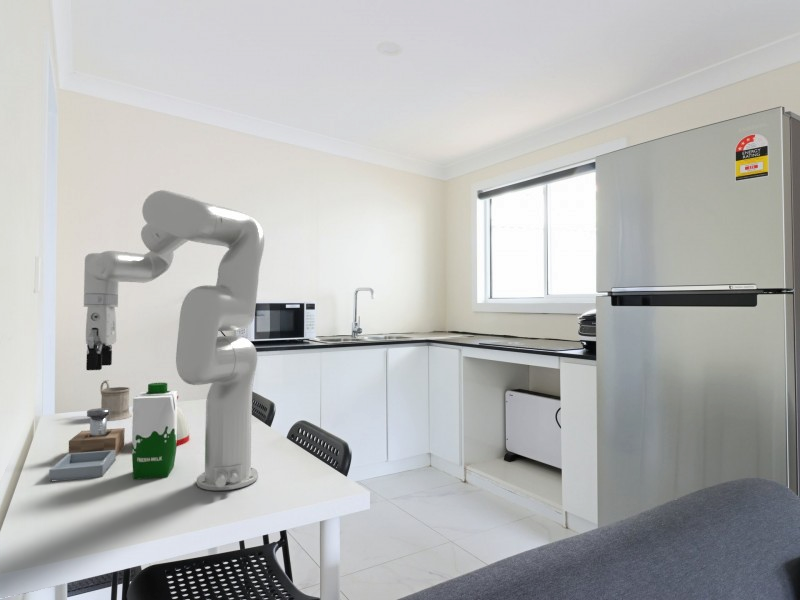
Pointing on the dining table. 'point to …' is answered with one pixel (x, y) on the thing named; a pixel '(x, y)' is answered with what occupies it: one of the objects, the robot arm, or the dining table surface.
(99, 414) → the pin
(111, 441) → the socket block
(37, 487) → the dining table surface
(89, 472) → the tray
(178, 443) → the kitchen timer
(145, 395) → the milk carton
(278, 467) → the dining table surface
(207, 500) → the dining table surface
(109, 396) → the mug
